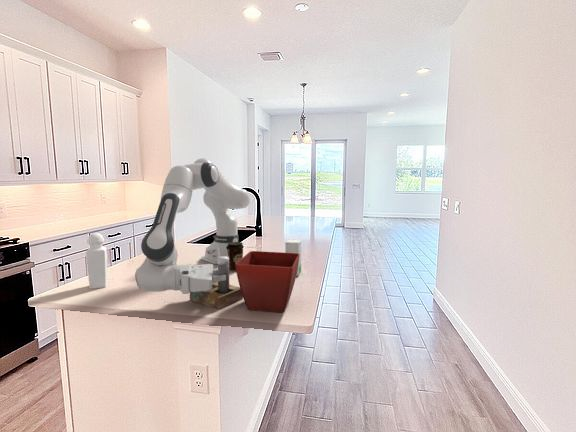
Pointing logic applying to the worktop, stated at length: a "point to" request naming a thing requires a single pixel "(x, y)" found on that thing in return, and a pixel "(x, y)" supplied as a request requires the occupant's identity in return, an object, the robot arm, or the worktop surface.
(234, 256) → the coffee cup
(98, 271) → the white bottle
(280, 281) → the plant pot
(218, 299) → the socket deck
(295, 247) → the skincare box
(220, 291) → the grey cylinder
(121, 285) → the worktop surface
